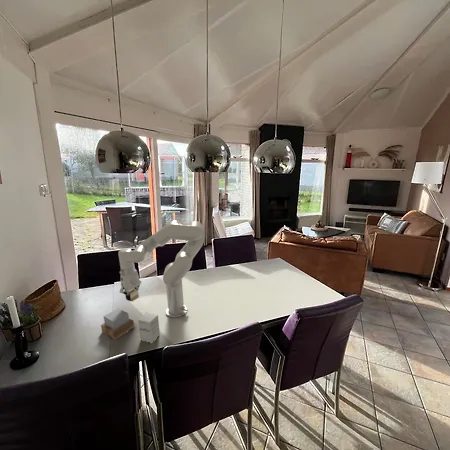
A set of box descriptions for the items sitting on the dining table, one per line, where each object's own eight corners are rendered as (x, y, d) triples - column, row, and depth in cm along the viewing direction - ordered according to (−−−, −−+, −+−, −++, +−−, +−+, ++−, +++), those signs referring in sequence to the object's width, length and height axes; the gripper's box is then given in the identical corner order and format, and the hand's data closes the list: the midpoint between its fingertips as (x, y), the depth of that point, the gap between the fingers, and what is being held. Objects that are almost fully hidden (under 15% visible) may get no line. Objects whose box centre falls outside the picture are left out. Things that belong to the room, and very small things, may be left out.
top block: (129, 321, 143) (128, 313, 142) (114, 329, 136) (113, 321, 135) (119, 316, 148) (118, 308, 147) (104, 324, 141) (103, 316, 140)
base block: (134, 328, 145) (133, 320, 143) (115, 340, 135) (114, 332, 134) (121, 321, 151) (120, 314, 150) (102, 333, 141) (100, 325, 140)
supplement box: (140, 341, 134) (137, 319, 130) (149, 332, 140) (146, 311, 137) (152, 344, 131) (149, 322, 128) (160, 335, 138) (158, 314, 135)
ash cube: (138, 297, 154) (137, 290, 153) (131, 301, 150) (130, 293, 149) (133, 295, 157) (132, 288, 156) (126, 299, 153) (125, 291, 152)
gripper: (119, 276, 140) (124, 306, 145) (144, 265, 154) (148, 293, 158) (111, 274, 144) (116, 303, 149) (135, 263, 158) (140, 290, 162)
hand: (132, 297), depth 153 cm, fingers closed on ash cube, 5 cm apart
